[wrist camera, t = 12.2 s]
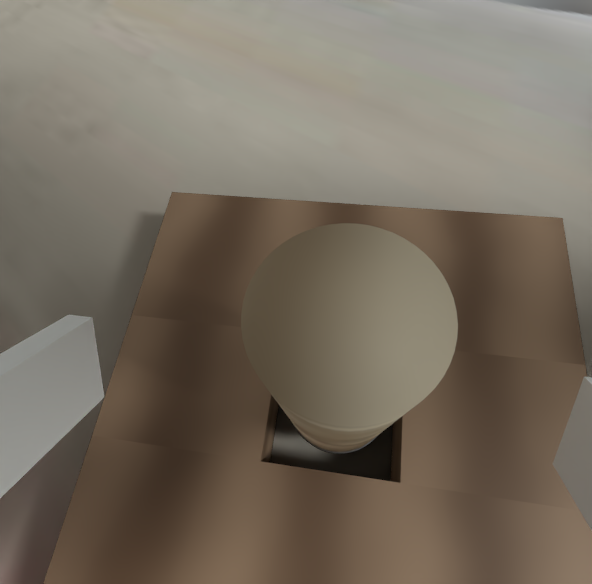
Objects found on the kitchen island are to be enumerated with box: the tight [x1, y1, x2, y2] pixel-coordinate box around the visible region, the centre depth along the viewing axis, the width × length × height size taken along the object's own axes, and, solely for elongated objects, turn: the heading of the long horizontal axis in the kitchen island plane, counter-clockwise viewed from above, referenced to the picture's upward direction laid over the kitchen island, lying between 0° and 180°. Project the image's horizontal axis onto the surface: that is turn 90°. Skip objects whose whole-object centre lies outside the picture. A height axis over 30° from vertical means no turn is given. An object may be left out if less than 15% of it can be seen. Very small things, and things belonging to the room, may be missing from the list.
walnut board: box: [43, 192, 592, 584], centre depth 19 cm, size 22×22×3 cm
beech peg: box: [241, 223, 458, 454], centre depth 14 cm, size 4×4×14 cm
